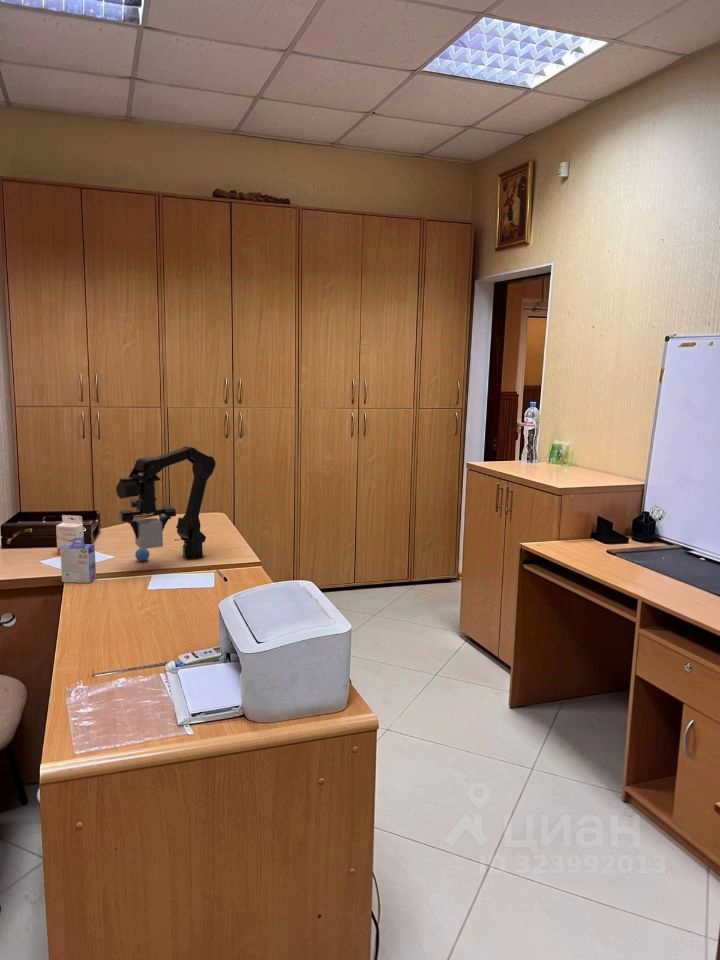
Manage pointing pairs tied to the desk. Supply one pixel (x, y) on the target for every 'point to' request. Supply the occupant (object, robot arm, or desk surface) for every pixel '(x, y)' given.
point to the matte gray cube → (149, 533)
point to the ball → (142, 554)
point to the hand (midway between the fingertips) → (148, 536)
